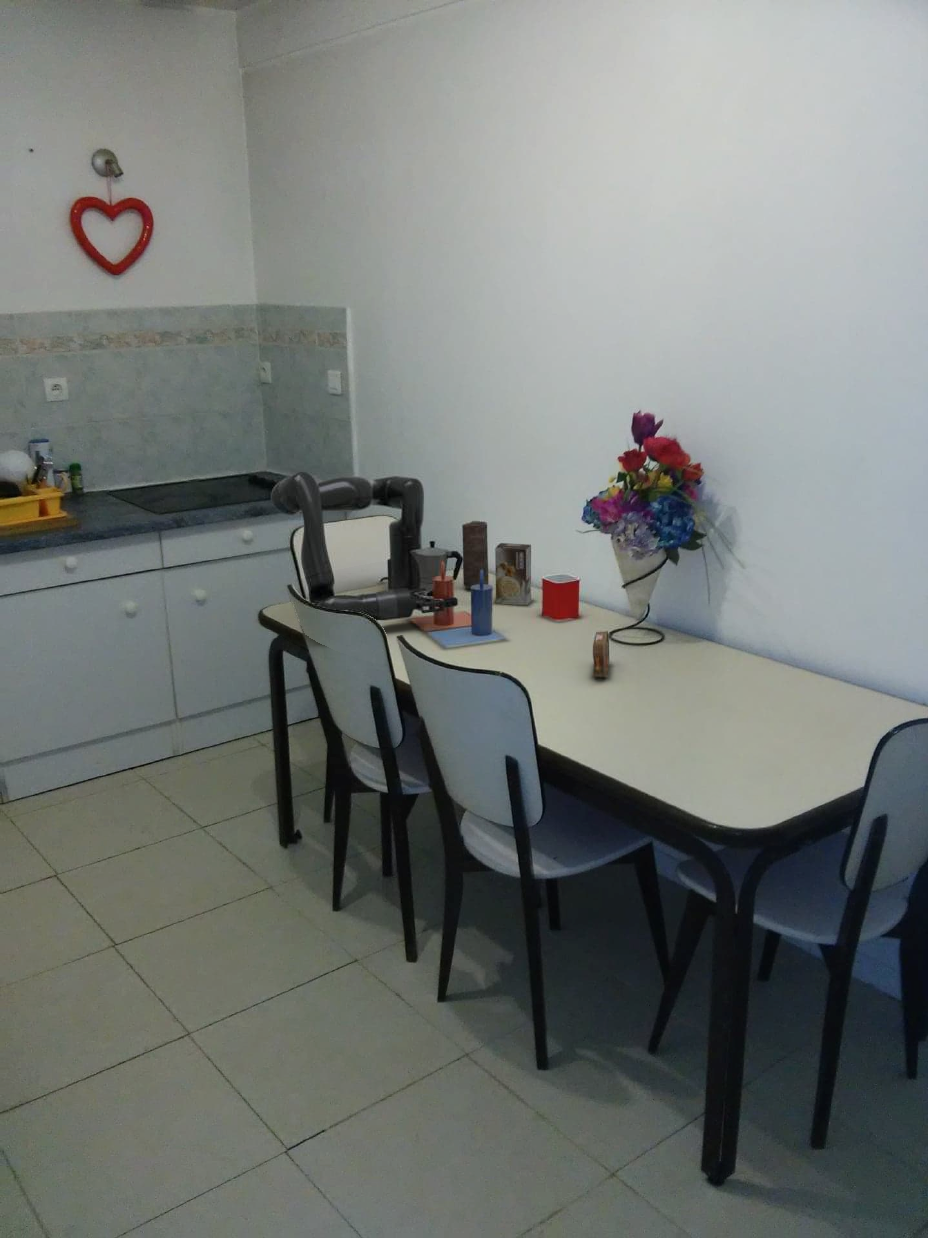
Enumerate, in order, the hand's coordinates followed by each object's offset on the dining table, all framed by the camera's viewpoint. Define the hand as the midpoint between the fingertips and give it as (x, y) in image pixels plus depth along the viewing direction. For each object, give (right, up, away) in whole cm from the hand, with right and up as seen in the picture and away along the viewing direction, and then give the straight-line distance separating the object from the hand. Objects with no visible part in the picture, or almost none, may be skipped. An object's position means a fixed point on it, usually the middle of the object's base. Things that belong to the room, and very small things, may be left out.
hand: (450, 597), depth 277 cm
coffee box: (+17, -1, +22) cm, 28 cm away
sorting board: (+1, -9, -3) cm, 9 cm away
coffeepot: (-4, -2, +20) cm, 20 cm away
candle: (+7, +3, +35) cm, 36 cm away
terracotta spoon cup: (-2, -7, +1) cm, 7 cm away
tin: (+35, -18, -34) cm, 52 cm away
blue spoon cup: (+8, -9, -7) cm, 14 cm away
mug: (+28, -5, +9) cm, 30 cm away
